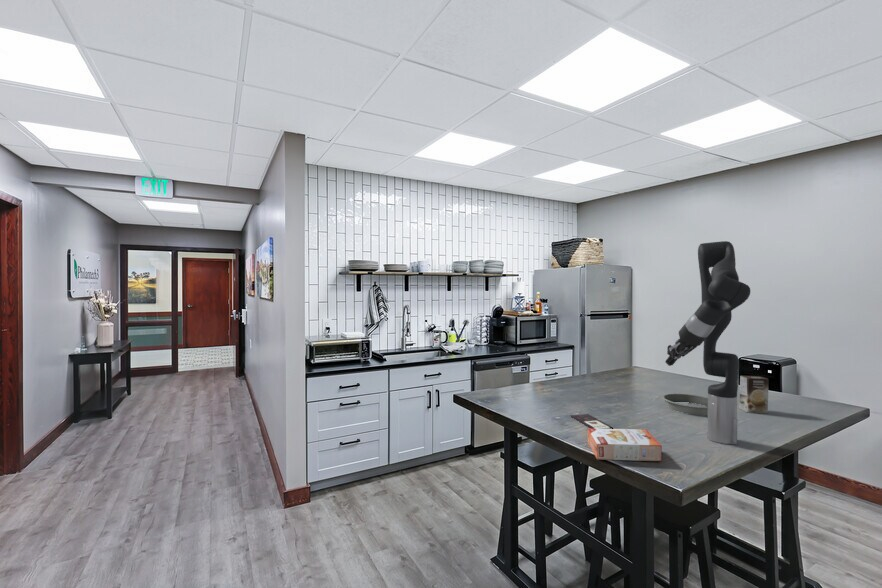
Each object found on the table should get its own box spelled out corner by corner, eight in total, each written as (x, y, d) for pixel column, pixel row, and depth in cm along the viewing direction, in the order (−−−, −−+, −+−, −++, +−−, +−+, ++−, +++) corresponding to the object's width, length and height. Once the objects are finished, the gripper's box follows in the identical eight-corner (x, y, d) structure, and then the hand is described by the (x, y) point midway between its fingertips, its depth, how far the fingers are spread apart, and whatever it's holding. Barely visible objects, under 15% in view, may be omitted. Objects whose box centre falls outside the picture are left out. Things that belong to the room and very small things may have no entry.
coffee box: (747, 412, 192) (747, 378, 192) (738, 408, 199) (739, 375, 199) (768, 413, 192) (769, 378, 191) (759, 409, 198) (759, 375, 198)
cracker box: (662, 444, 136) (596, 443, 139) (662, 461, 137) (596, 461, 139) (646, 427, 150) (586, 427, 153) (646, 444, 151) (587, 443, 153)
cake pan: (726, 420, 182) (727, 409, 182) (663, 412, 193) (663, 402, 193) (717, 405, 205) (717, 396, 204) (661, 399, 215) (661, 391, 215)
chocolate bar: (588, 414, 188) (612, 427, 170) (588, 416, 188) (612, 429, 170) (570, 415, 186) (592, 428, 168) (570, 417, 186) (592, 431, 168)
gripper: (700, 319, 142) (672, 353, 153) (675, 322, 137) (648, 358, 147) (718, 334, 137) (688, 369, 148) (693, 339, 132) (663, 374, 142)
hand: (668, 363), depth 147 cm, fingers closed
